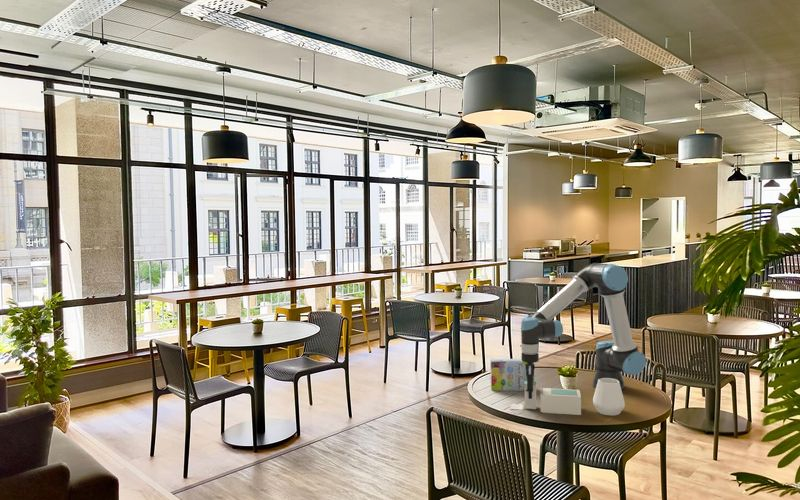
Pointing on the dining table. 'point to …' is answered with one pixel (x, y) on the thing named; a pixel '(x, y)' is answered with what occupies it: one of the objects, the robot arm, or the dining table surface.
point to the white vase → (608, 397)
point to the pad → (516, 407)
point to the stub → (533, 396)
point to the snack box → (508, 374)
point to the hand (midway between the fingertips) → (530, 403)
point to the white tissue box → (560, 401)
